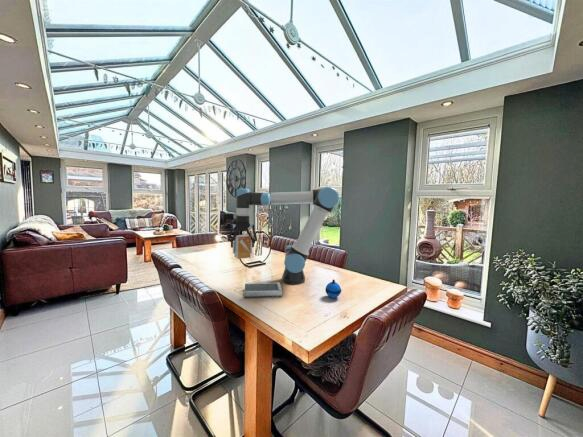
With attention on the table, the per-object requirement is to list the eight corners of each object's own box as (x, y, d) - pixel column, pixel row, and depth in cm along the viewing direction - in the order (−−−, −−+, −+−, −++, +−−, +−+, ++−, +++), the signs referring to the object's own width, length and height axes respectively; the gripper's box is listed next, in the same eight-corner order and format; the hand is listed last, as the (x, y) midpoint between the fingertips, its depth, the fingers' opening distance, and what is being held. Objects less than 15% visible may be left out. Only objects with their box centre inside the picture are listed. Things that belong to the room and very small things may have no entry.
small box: (238, 259, 142) (238, 236, 141) (234, 256, 148) (234, 235, 146) (251, 257, 147) (251, 235, 146) (246, 255, 152) (246, 234, 151)
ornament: (322, 295, 139) (323, 277, 138) (335, 293, 142) (336, 276, 141) (330, 301, 131) (331, 283, 130) (344, 299, 134) (344, 281, 133)
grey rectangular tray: (279, 288, 147) (279, 281, 147) (281, 297, 134) (282, 289, 134) (244, 289, 144) (244, 282, 143) (244, 298, 131) (244, 291, 131)
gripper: (261, 215, 150) (261, 251, 152) (223, 214, 147) (223, 251, 149) (262, 215, 143) (261, 254, 145) (222, 215, 139) (222, 254, 141)
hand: (242, 252), depth 147 cm, fingers closed on small box, 10 cm apart
